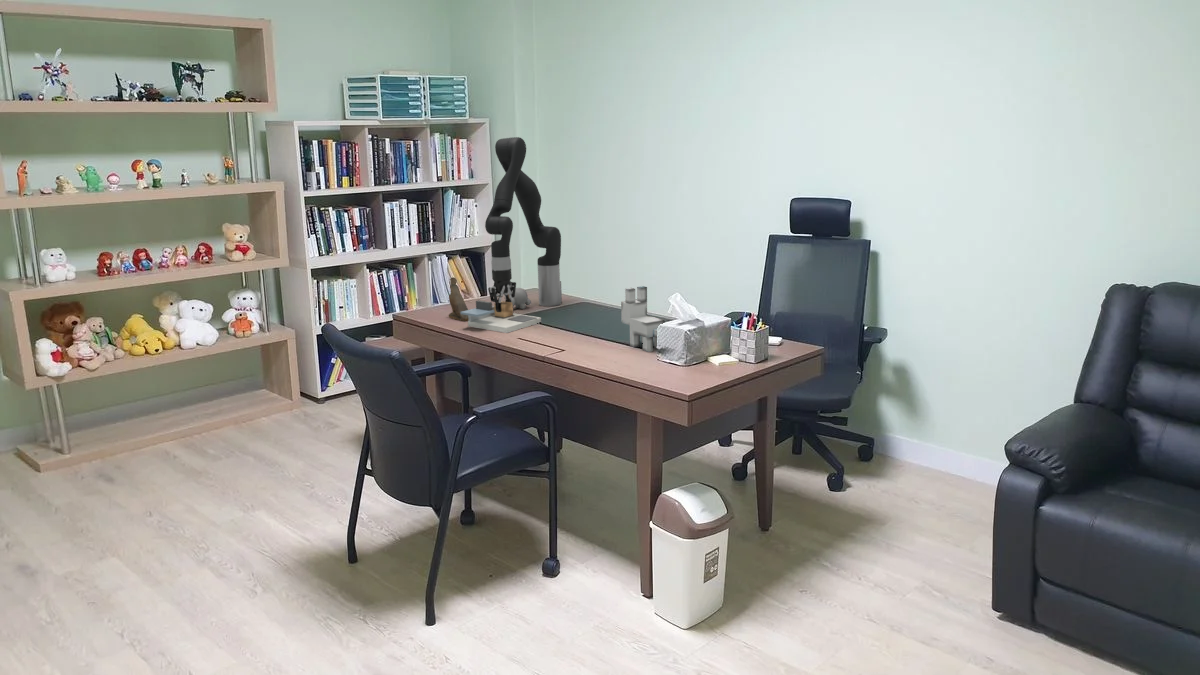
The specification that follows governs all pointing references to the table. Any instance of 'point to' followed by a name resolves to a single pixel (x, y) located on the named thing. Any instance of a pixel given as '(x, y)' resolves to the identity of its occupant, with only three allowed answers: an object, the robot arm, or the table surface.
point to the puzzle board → (502, 322)
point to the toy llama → (639, 319)
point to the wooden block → (505, 309)
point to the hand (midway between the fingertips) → (503, 310)
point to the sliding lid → (480, 309)
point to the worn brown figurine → (457, 302)
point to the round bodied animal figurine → (520, 298)
